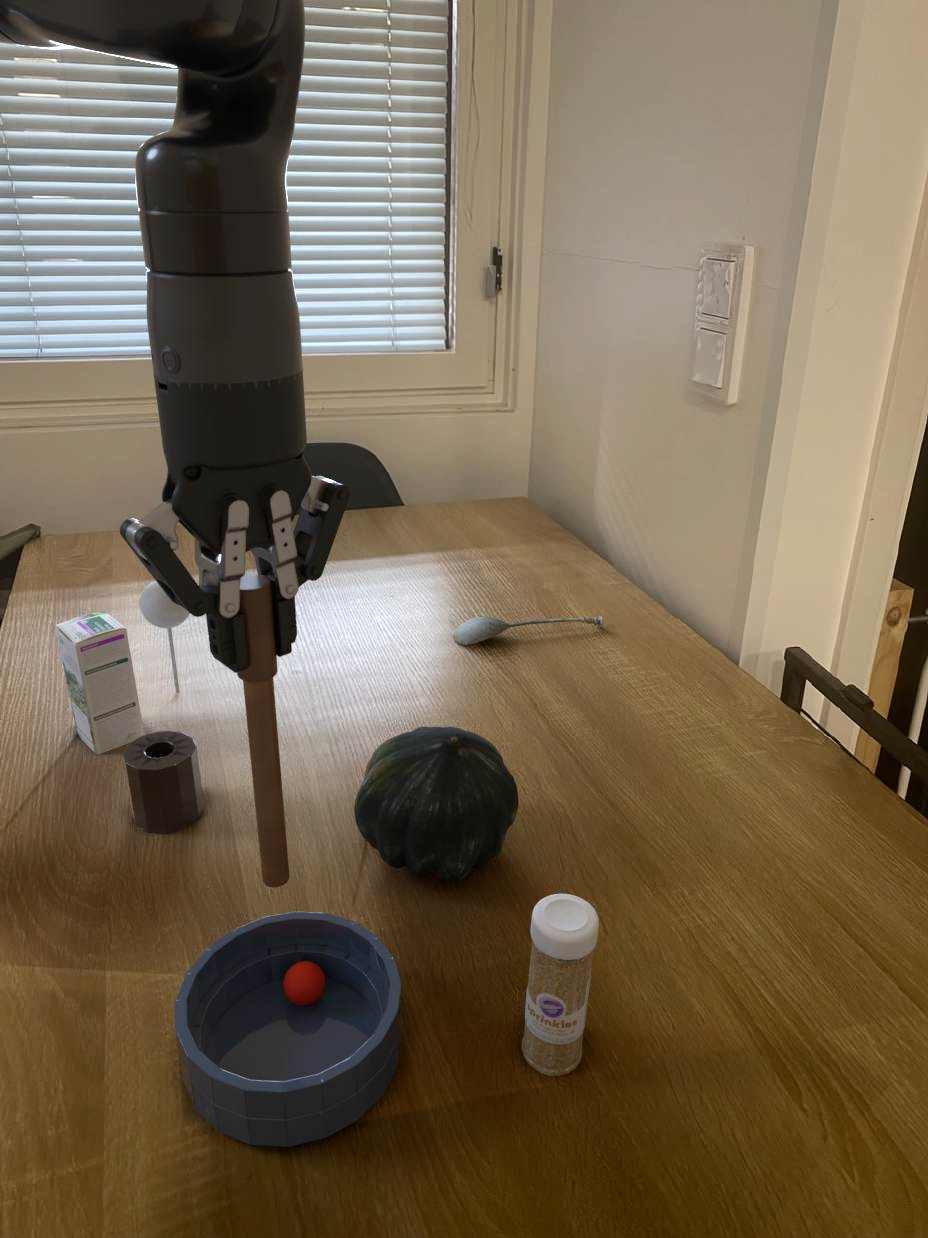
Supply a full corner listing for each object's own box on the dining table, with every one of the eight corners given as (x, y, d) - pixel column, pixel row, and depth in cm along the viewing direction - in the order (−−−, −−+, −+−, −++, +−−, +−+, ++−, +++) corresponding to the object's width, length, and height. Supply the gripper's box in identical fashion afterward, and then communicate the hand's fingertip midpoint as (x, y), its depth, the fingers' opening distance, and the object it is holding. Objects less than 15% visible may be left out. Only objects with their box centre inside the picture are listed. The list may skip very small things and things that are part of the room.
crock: (124, 836, 88) (112, 768, 84) (148, 794, 94) (138, 729, 90) (191, 839, 88) (182, 771, 84) (211, 797, 94) (204, 732, 90)
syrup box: (147, 740, 103) (130, 625, 96) (95, 760, 99) (74, 642, 93) (125, 720, 106) (107, 607, 100) (74, 738, 103) (52, 623, 96)
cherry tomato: (280, 1014, 69) (277, 983, 68) (289, 981, 72) (286, 951, 71) (322, 1016, 69) (320, 986, 68) (329, 983, 72) (327, 953, 70)
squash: (379, 737, 94) (361, 693, 81) (522, 755, 93) (529, 713, 80) (356, 877, 89) (332, 856, 75) (507, 897, 88) (511, 879, 74)
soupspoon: (448, 633, 130) (458, 656, 125) (448, 612, 129) (458, 635, 123) (593, 616, 135) (609, 638, 129) (595, 596, 133) (611, 617, 127)
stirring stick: (254, 890, 61) (222, 589, 51) (262, 866, 63) (234, 572, 53) (290, 892, 61) (265, 590, 51) (297, 867, 63) (274, 574, 53)
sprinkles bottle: (520, 1076, 65) (531, 936, 60) (522, 1023, 70) (532, 888, 64) (584, 1082, 65) (601, 942, 59) (582, 1029, 69) (598, 893, 63)
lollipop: (213, 686, 114) (201, 576, 107) (181, 708, 109) (166, 594, 102) (174, 675, 116) (159, 566, 109) (141, 696, 111) (124, 584, 105)
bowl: (152, 1146, 60) (141, 1084, 57) (219, 963, 74) (212, 907, 72) (388, 1159, 60) (387, 1097, 57) (410, 972, 74) (410, 916, 71)
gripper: (301, 340, 54) (316, 606, 61) (64, 367, 45) (116, 673, 53) (380, 359, 49) (386, 645, 56) (132, 392, 40) (178, 725, 48)
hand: (255, 657), depth 54 cm, fingers closed on stirring stick, 2 cm apart
